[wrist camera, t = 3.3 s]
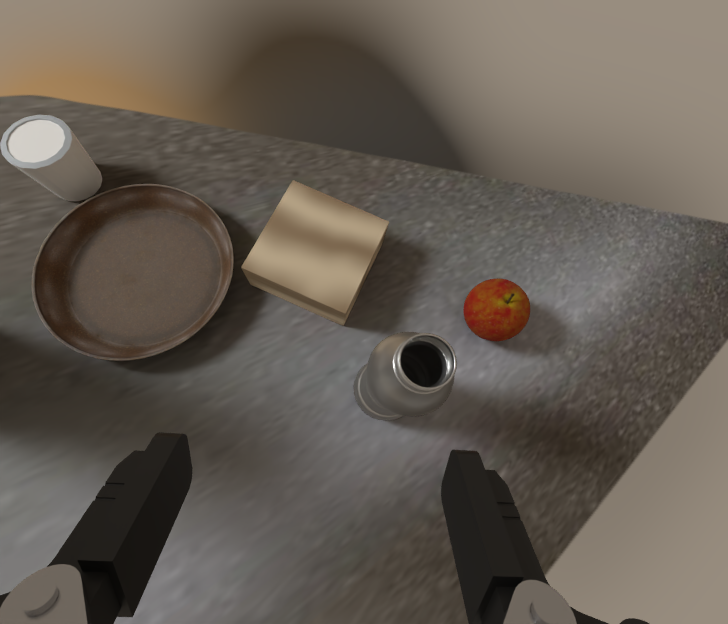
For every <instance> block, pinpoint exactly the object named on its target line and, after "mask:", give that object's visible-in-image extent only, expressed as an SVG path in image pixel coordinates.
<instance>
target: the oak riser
mask: <svg viewBox="0 0 728 624" xmlns="http://www.w3.org/2000/svg"><path fill="white" fill-rule="evenodd" d="M388 224H389V222H388V221H386V220H384V219H381V218H379V217H377V216H374V215H372V214H370V213H367V212H365V211H363V210H361V209H358V208H356V207H354V206H351V205H349V204H347V203H344V202H342V201H340V200H337V199H335V198H333V197H331V196H328V195H326V194H324V193H321V192H319V191H317V190H314V189H312V188H310V187H307V186H305V185H303V184H301V183H298V182H296V181H294V180H293V181H292V183H291V184H290V186H289V188H288V189H287V191H286V193H285V195H284V196H283V198H282V200H281V201H280V203H279V205H278V206H277V208H276V210H275V211H274V213H273V215H272V216H271V218H270V220H269V221H268V223H267V225H266V226H265V228H264V230H263V231H262V233H261V235H260V236H259V238H258V240H257V242H256V243H255V245H254V247H253V248H252V250H251V252H250V253H249V255H248V257H247V258H246V260H245V262H244V263H243V265H242V267H241V268H242V270H243V272H244V274H245V276H246V277H247V279H248V281H249V283H250V285H252V286H255V287H257V288H259V289H261V290H264V291H266V292H268V293H270V294H273V295H275V296H277V297H279V298H282V299H284V300H286V301H288V302H290V303H293V304H295V305H297V306H299V307H302V308H304V309H306V310H308V311H311V312H313V313H315V314H317V315H320V316H322V317H324V318H326V319H329V320H331V321H333V322H335V323H338V324H340V325H342V326H344V324H345V322H346V320H347V318H348V316H349V314H350V311H351V309H352V307H353V305H354V303H355V301H356V299H357V297H358V294H359V292H360V290H361V288H362V286H363V284H364V282H365V280H366V277H367V275H368V273H369V271H370V269H371V267H372V265H373V263H374V260H375V258H376V256H377V254H378V252H379V250H380V248H381V245H382V243H383V241H384V237H385V234H386V231H387V227H388Z"/></svg>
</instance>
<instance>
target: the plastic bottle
mask: <svg viewBox="0 0 728 624" xmlns="http://www.w3.org/2000/svg"><path fill="white" fill-rule="evenodd" d="M456 366H457V361H456V356H455V353H454V350H453V349H452V347H451V346H450V344H449V343H448V342H447V341H445V340H444V339H443V338H441V337H439V336H437V335H434V334H430V333H416V332H401V333H396V334H393V335H391V336H389V337H387V338H385V339H384V340H382V341H381V342H380V343H379V344H378V345H377V346H376V347H375V349H374V350H373V352H372V353H371V355H370V358H369V361H368V363H367V364H366V365H364V366H363V367H362V368H361V369H360V371H359V372H358V374H357V376H356V378H355V381H354V396H355V399H356V402H357V404H358V405H359V407H360V408H361V409H362V410H363V411H364V412H365V413H366V414H367V415H369V416H370V417H372V418H375V419H378V420H383V421H388V420H394V419H398V418H400V417H402V416H409V417H414V416H422V415H426V414H429V413H431V412H433V411H435V410H436V409H437V408H439V407H440V406H441V405H442V404H443V403H444V402H445V401H446V399H447V398H448V396H449V394H450V392H451V389H452V386H453V382H454V374H455V371H456Z"/></svg>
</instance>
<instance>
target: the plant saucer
mask: <svg viewBox="0 0 728 624" xmlns="http://www.w3.org/2000/svg"><path fill="white" fill-rule="evenodd" d="M233 263H234V257H233V248H232V243H231V239H230V236H229V234H228V231H227V229H226V227H225V225H224V223H223V222H222V220H221V219H220V217H219V216H218V215H217V214H216V212H215V211H214V210H213V209H212V208H211V207H210V206H209V205H208V204H206V203H205V202H204V201H202V200H201V199H199V198H198V197H196V196H194V195H192V194H190V193H188V192H186V191H183V190H180V189H177V188H174V187H170V186H165V185H158V184H135V185H128V186H122V187H118V188H114V189H111V190H108V191H105V192H103V193H100V194H98V195H96V196H93V197H91V198H89V199H88V200H86V201H84V202H83V203H81V204H79V205H78V206H76V207H75V208H74V209H73V210H71V211H70V212H69V213H67V214H66V215H65V216H64V217H63V218H62V219H61V220H60V221H59V222H58V223H57V224H56V225H55V226H54V228H53V229H52V230H51V232H50V233H49V234H48V236H47V237H46V239H45V240H44V242H43V244H42V246H41V248H40V250H39V253H38V255H37V257H36V261H35V264H34V268H33V274H32V294H33V300H34V304H35V307H36V310H37V312H38V315H39V317H40V319H41V321H42V322H43V324H44V325H45V326H46V328H47V329H48V330H49V332H50V333H51V334H52V335H53V336H54V337H55V338H56V339H57V340H59V341H60V342H61V343H63V344H64V345H65V346H67V347H69V348H70V349H72V350H74V351H76V352H78V353H81V354H83V355H86V356H90V357H93V358H97V359H103V360H115V361H124V360H135V359H141V358H146V357H150V356H153V355H157V354H160V353H162V352H165V351H167V350H169V349H172V348H174V347H175V346H177V345H179V344H181V343H183V342H184V341H186V340H187V339H189V338H190V337H192V336H193V335H194V334H195V333H197V332H198V331H199V330H200V329H201V328H202V327H203V326H204V325H205V324H206V323H207V322H208V321H209V320H210V319H211V318H212V316H213V315H214V314H215V312H216V311H217V310H218V308H219V307H220V305H221V303H222V301H223V300H224V298H225V295H226V293H227V291H228V288H229V285H230V282H231V278H232V274H233Z"/></svg>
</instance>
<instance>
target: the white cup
mask: <svg viewBox="0 0 728 624" xmlns="http://www.w3.org/2000/svg"><path fill="white" fill-rule="evenodd" d="M0 146H1V151H2V155H3V156H4V157H5V158H6V159H7V161H8V162H9V163H11V164H12V165H13V166H15V167H16V168H18V169H19V170H21V171H22V172H24V173H25V174H26V175H28V176H29V177H31V178H32V179H34V180H35V181H36V182H38V183H39V184H41V185H42V186H44V187H45V188H47V189H48V190H49V191H51V192H52V193H54V194H55V195H57V196H58V197H60V198H62V199H64V200H66V201H81V200H85V199H88V198H89V197H91V196H93V195H94V194H95V193H96V192H97V191H98V190H99V188H100V187H101V183H102V175H101V172H100V170H99V169H98V168H97V166H96V165H95V163H94V162H93V161H92V159H91V158H90V156H89V155H88V153H87V152H86V151H85V149H84V148H83V146H82V145H81V143H80V142H79V141H78V139H77V138H76V136H75V135H74V134H73V132H72V131H71V129H70V128H69V127H68V126H67V125H66V124H65V123H64V122H63V121H62V120H60V119H58V118H56V117H53V116H48V115H35V116H30V117H25V118H23V119H21V120H19V121H17V122H16V123H14V124H12V125H11V126H10V127H9V128H8V130H7V131H6V132H5V133H4V135H3V137H2V140H1V143H0Z"/></svg>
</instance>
